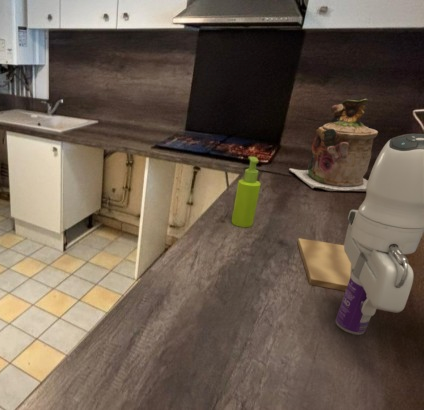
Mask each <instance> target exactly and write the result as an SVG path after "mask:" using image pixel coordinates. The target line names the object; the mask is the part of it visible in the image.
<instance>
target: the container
mask: <svg viewBox="0 0 424 410" xmlns="http://www.w3.org/2000/svg"><path fill="white" fill-rule="evenodd" d="M365 262H368V260H367V259H366V257H365V255H364V254H363V252H361V253H360V255H359V257H358V260H357V262H356V265H355V267H354V270H353V272H352V275H351V277H350V280H349V283H348V286H347V289H346V291H344V295H343V298H342V300H341V302H340V303H341V304H340V305H339V309H338V312H337V315H336V318H335V324H336V326H337V327H338V328H339V329H341V330H343V331H344V332H346V333H349V334H352V335H364V334H365V332H366V330H367V328H368V325H369V324H370V320H371V318H372V316H369V315H365V314H363V313H362V312H361V309H360V305H361V302H362V301H365V300H366V299H367V297H366V295H367V294H366V292H365V290H364V288H363V286H362V284H361V282H360V280H359V276H360V273H361V271H362V268H363V266H364V263H365Z"/></svg>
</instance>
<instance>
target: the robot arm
mask: <svg viewBox="0 0 424 410" xmlns="http://www.w3.org/2000/svg"><path fill="white" fill-rule="evenodd" d="M367 181H368V182H367V186H366V191H365V193H366V194H365V198H364V199H363V201H362V203H361V204H360V206H359V207H358V209H350V211H349V213H348V216H347V220H348V222H349V223H348V226H347V229H346V233H345V238H344V242H343V245H344V251H345V253H346V255H347V257H348V259H349V261H350V263H351V272H350V277H351V275H352V272H353V270H354V267H355V265H356V262H357V260H358V257H359V255H360V253H361V252H363V254H364V255H365V257H366V259H367V260H368V262H365V263H364V266H363V268H362V271H361V273H360V276H359V280H360V282H361V284H362V286H363V288H364V290H365V292H366V294H367V295H366V297H367V299H366V300H365V301H362V302H361V305H360V309H361V312H362V313H363V314H365V315H369V316H371V317H373V316H374V315H375V314H376V311H377V310H380V311H383V312H390V313H394V314H395V313H396V314H397V313H400V312H403V310H404V309H405V307H406V304H407V302H408V299H409V296H410V294H411V290H412V287H413V283H414V274H415V273H414V270H413V268H412V266H411V265H410V264H409V258H407V256H406V255H410V254H414V253H415V252H417V249H418V247H419V244H420V242H421V239H422V237H423V235H424V133H407V134H401V135H397V136H395V137H392V138H390V139H389V140H388V141H387V142H386V143H385V144H384V146H383V147H382V149H381V150H380V152H379V154H378V155H377V157H376V160H375V162H374V164H373V166H372V169H371V170H370V174H369V177H368V180H367Z"/></svg>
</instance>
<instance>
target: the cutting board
mask: <svg viewBox="0 0 424 410" xmlns="http://www.w3.org/2000/svg"><path fill="white" fill-rule="evenodd" d="M297 240H298V241H297V246H298V249H299V253H300V257H301V261H302V263H303V267H304V270H305V273H306V278H307V280H308V284H309V285H312V286H318V287H322V288H327V289H332V290H337V291H342V292H346V289H347V286H348V283H349V280H350V272H351V263H350V261H349V259H348V257H347V255H346V253H345V251H344V244H338V243H332V242H325V241H320V240H313V239H306V238H300V237H298V239H297Z"/></svg>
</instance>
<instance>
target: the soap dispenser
mask: <svg viewBox="0 0 424 410" xmlns="http://www.w3.org/2000/svg"><path fill="white" fill-rule="evenodd" d="M247 157H248V159H249V166H248V168H246V169H245V171H244V176H243V178H241V179H239V180H238V181H237V182H238V183H237V188H236V194H235V199H234V205H233V210H232V217H231V222H230V223H231V224H233V225H234V226H236V227H240V228H251V227H252V226H253V224H254V219H255V214H256V209H257V204H258V201H259V200H258V199H259V196H260V191H261V185H262V183H261V181H258V176H259V170H258V169H257V164H259V159H258V157H257V156H247Z"/></svg>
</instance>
